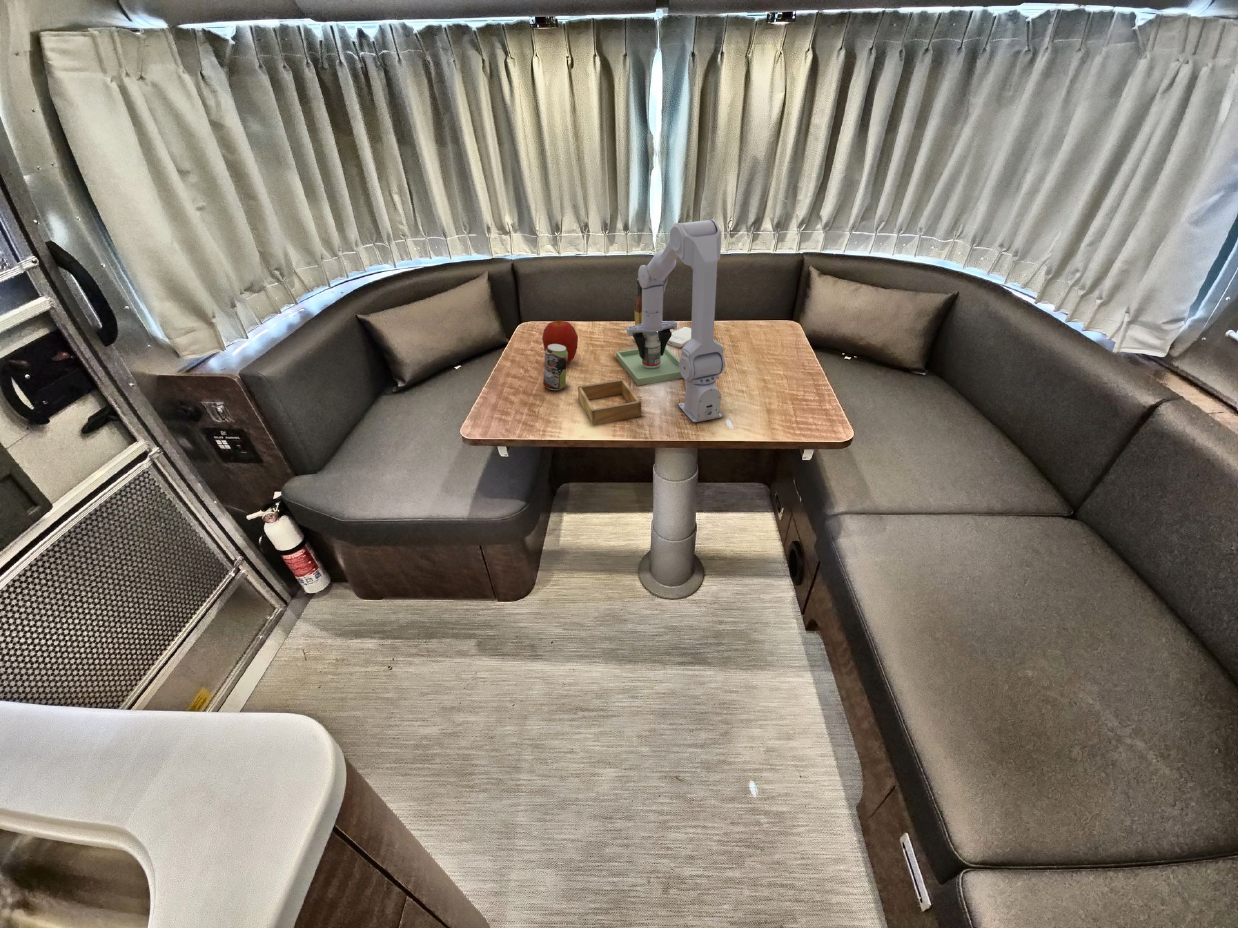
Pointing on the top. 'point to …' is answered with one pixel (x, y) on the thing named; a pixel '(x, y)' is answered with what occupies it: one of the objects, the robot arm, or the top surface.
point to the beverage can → (555, 366)
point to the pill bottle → (652, 350)
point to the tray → (649, 375)
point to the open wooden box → (609, 412)
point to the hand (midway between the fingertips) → (651, 355)
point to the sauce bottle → (638, 305)
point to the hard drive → (680, 337)
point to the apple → (561, 337)
